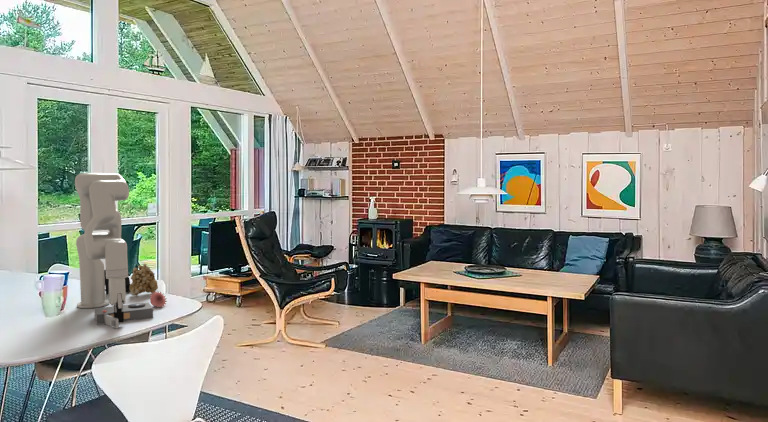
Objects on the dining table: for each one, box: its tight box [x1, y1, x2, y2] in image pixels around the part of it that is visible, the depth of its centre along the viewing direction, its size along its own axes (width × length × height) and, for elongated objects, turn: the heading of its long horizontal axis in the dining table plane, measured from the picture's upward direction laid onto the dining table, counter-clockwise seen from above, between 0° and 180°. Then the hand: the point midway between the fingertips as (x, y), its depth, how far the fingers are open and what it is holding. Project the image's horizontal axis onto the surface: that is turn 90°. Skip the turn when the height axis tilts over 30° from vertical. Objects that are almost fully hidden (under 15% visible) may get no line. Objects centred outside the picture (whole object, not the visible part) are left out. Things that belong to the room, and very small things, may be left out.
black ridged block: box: [104, 269, 131, 296], centre depth 273 cm, size 4×13×15 cm, turn 124°
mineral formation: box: [129, 263, 159, 297], centre depth 269 cm, size 8×13×15 cm, turn 137°
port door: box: [104, 314, 120, 329], centre depth 212 cm, size 2×11×4 cm, turn 48°
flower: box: [149, 290, 168, 308], centre depth 245 cm, size 8×8×6 cm
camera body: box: [93, 301, 154, 325], centre depth 225 cm, size 12×20×4 cm, turn 121°
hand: (118, 322), depth 213 cm, fingers closed
